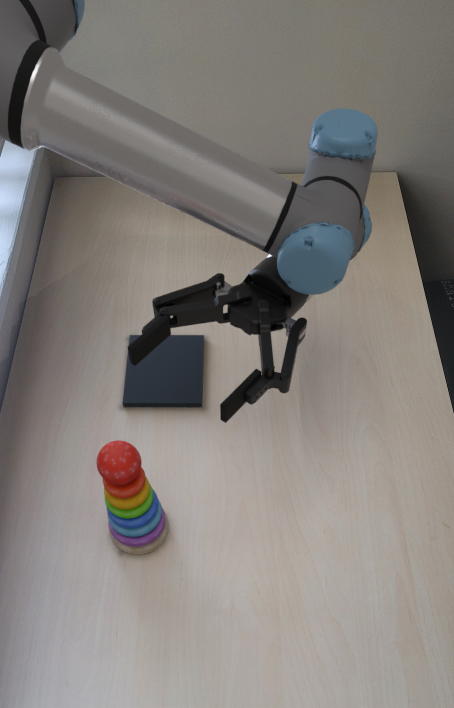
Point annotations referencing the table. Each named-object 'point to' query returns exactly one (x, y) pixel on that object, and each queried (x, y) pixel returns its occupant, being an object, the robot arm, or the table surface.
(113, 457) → the stacking toy
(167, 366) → the mat
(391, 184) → the table surface
